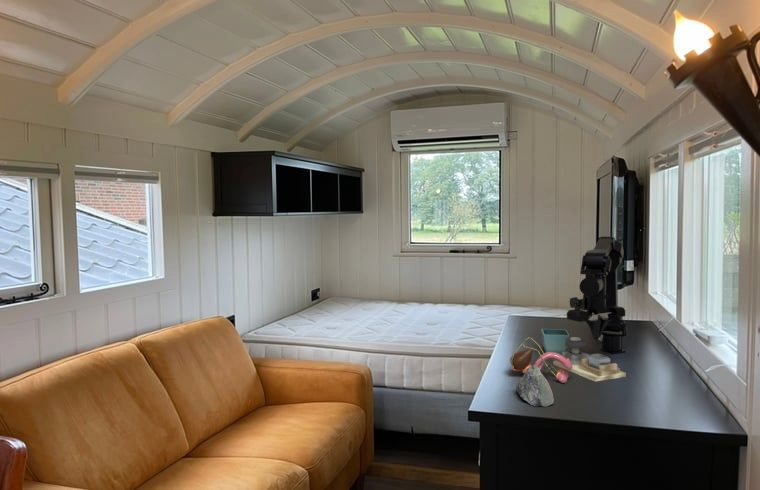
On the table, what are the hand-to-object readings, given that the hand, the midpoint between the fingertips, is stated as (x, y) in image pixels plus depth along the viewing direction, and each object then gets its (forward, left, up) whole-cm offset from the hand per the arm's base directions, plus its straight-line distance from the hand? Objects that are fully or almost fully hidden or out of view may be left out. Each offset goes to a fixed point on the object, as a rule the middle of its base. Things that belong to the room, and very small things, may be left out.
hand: (596, 339), depth 170 cm
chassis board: (0, -4, -11) cm, 11 cm away
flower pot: (-1, -22, -11) cm, 24 cm away
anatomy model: (+19, -3, -11) cm, 22 cm away
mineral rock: (+32, +12, -11) cm, 36 cm away
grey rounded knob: (0, -10, -7) cm, 12 cm away
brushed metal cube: (0, +2, -10) cm, 10 cm away
